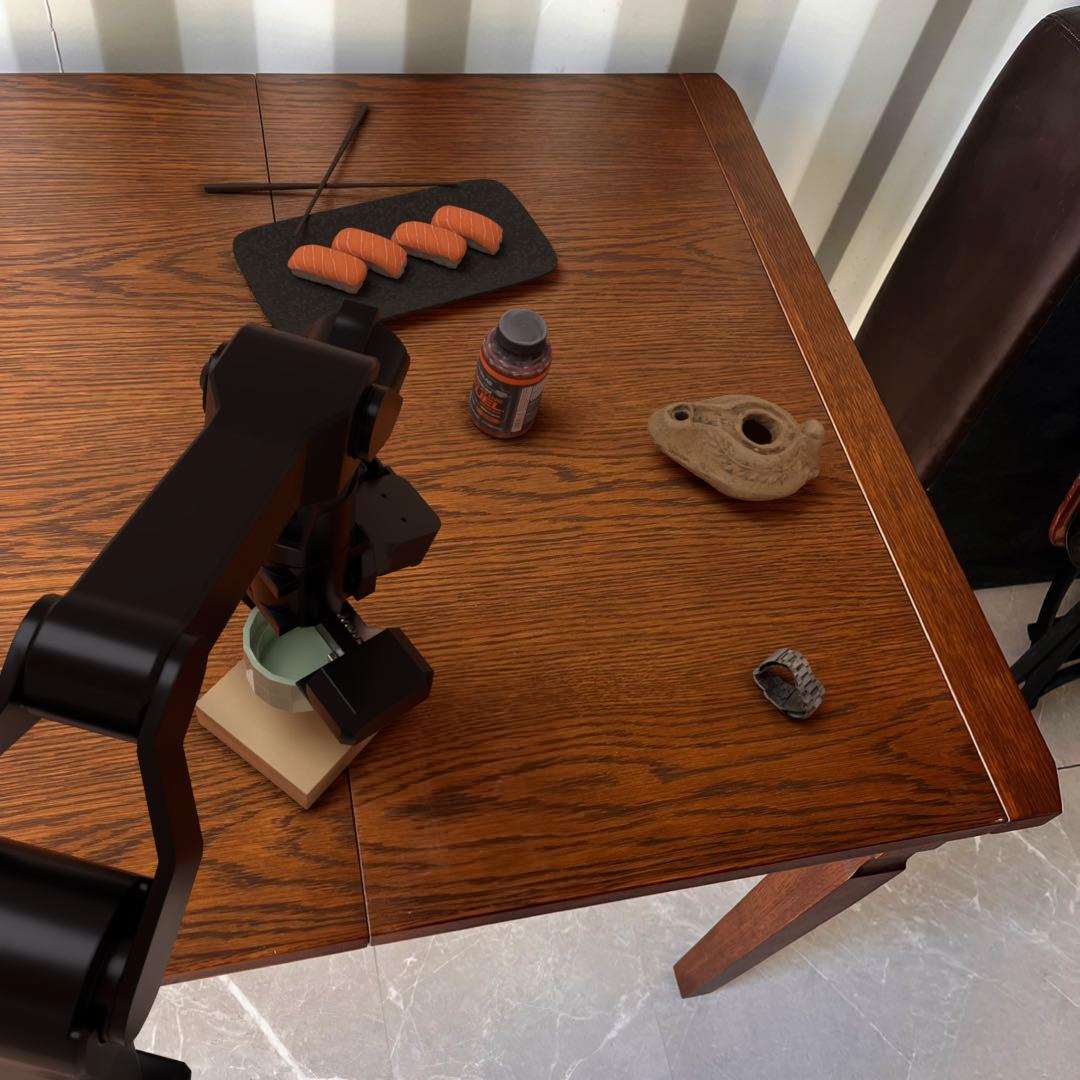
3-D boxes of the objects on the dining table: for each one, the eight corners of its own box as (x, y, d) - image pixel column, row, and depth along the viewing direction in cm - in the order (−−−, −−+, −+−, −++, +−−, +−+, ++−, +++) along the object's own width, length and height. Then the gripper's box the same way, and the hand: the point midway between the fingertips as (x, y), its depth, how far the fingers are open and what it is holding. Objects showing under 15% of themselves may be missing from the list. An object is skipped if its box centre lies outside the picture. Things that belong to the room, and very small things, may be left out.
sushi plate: (282, 360, 94) (282, 329, 91) (164, 143, 106) (160, 109, 103) (566, 283, 106) (574, 253, 103) (430, 95, 118) (433, 64, 115)
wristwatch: (761, 712, 85) (813, 722, 81) (743, 655, 84) (796, 662, 80) (783, 692, 87) (836, 701, 83) (767, 636, 86) (820, 642, 82)
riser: (306, 810, 73) (306, 795, 71) (197, 722, 75) (194, 703, 73) (401, 706, 79) (404, 688, 76) (297, 626, 81) (297, 606, 78)
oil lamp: (632, 415, 98) (656, 355, 91) (788, 424, 101) (821, 366, 94) (648, 516, 92) (675, 459, 86) (813, 522, 95) (851, 467, 88)
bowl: (303, 736, 68) (303, 706, 65) (223, 672, 70) (219, 639, 66) (374, 662, 72) (378, 630, 68) (296, 603, 73) (296, 568, 70)
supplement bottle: (453, 412, 95) (469, 320, 85) (498, 378, 98) (519, 286, 88) (504, 453, 93) (526, 364, 84) (548, 417, 96) (574, 328, 87)
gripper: (528, 577, 57) (487, 701, 70) (330, 348, 64) (325, 501, 76) (351, 686, 52) (342, 798, 65) (154, 425, 58) (181, 575, 71)
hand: (300, 657), depth 70 cm, fingers closed on bowl, 7 cm apart
